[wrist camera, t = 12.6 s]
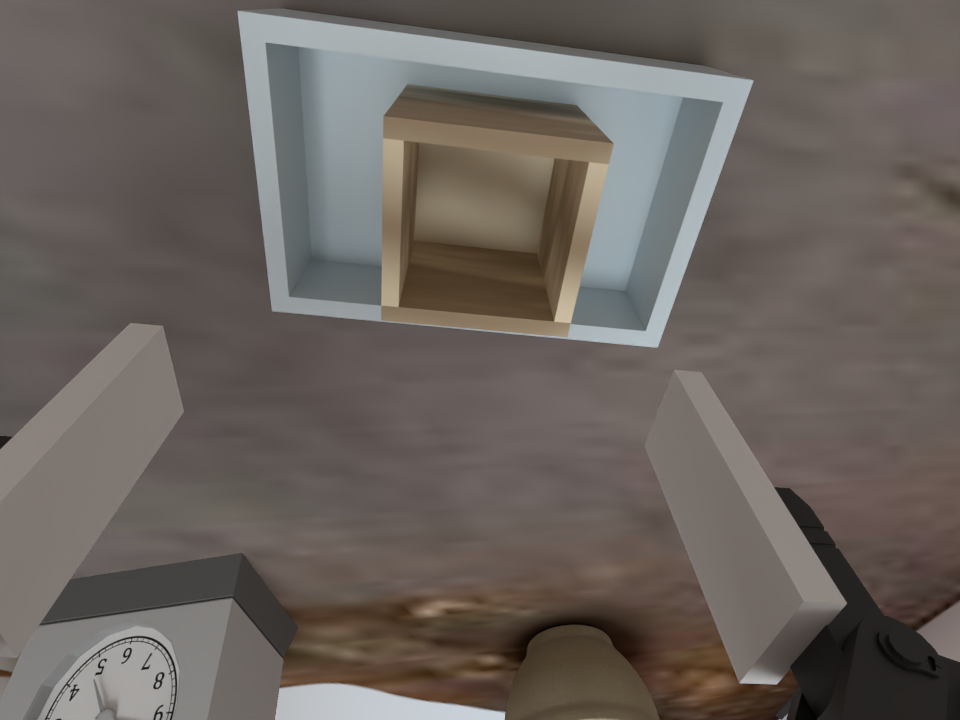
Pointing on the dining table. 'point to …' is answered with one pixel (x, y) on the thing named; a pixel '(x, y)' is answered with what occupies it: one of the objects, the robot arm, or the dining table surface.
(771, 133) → the dining table surface
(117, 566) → the dining table surface
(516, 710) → the planter bowl
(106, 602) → the alarm clock
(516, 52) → the light blue crate
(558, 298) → the birch crate
